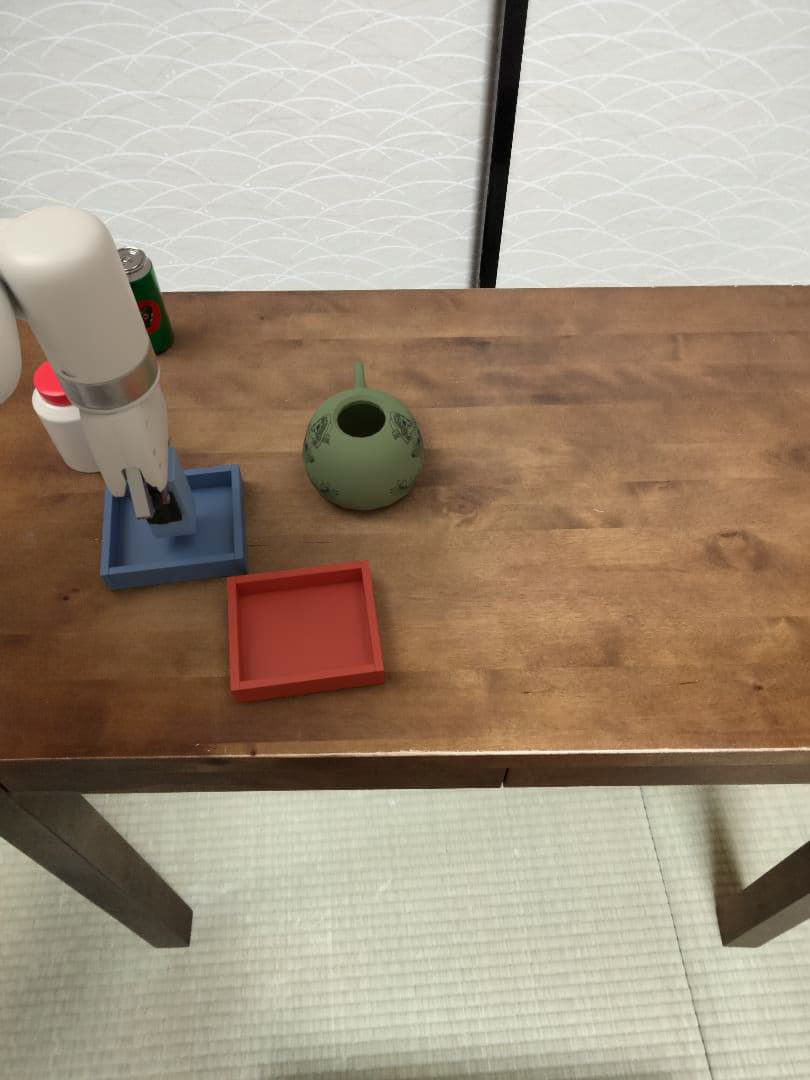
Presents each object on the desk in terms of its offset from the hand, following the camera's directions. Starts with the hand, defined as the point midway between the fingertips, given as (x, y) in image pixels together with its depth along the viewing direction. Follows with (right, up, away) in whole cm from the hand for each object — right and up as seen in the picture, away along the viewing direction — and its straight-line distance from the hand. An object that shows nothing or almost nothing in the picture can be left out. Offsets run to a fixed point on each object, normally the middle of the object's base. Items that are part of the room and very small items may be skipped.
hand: (165, 498), depth 79 cm
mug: (+19, +5, +11) cm, 22 cm away
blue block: (0, -2, +3) cm, 4 cm away
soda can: (-7, +20, +20) cm, 29 cm away
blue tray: (0, -3, +5) cm, 6 cm away
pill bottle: (-11, +6, +11) cm, 17 cm away
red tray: (+14, -13, -1) cm, 19 cm away
